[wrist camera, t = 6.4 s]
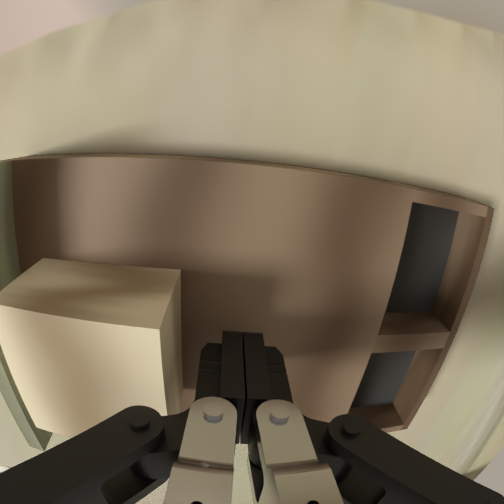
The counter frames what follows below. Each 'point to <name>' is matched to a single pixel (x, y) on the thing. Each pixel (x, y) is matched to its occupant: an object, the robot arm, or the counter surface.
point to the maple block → (92, 341)
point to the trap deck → (264, 265)
